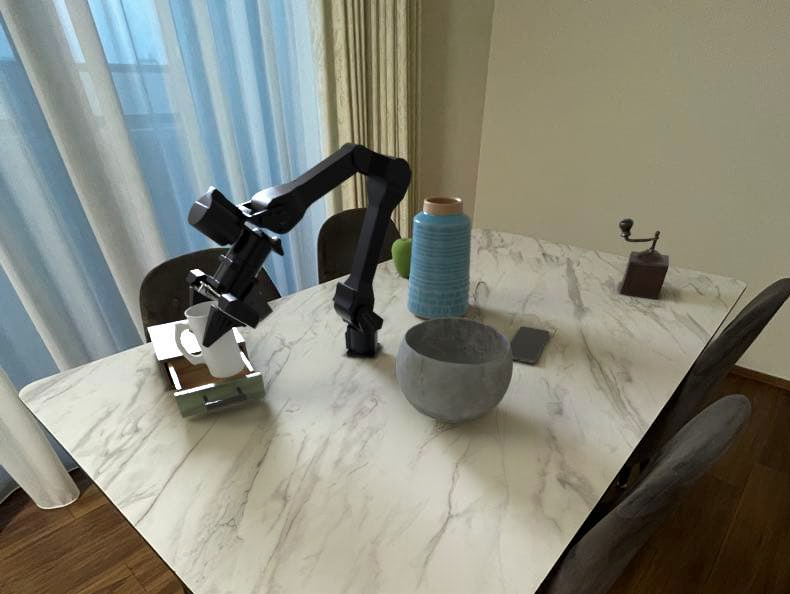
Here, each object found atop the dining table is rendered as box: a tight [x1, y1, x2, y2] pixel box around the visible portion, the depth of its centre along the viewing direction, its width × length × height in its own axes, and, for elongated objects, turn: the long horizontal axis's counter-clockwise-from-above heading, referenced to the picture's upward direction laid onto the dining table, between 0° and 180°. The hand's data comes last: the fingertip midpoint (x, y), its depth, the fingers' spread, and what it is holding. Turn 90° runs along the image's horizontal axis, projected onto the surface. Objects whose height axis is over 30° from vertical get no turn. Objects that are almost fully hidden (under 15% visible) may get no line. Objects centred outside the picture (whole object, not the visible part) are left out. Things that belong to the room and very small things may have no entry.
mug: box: [174, 300, 244, 378], centre depth 84 cm, size 10×7×12 cm, turn 116°
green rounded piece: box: [391, 236, 412, 278], centre depth 142 cm, size 9×8×12 cm
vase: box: [406, 195, 473, 321], centre depth 117 cm, size 16×16×27 cm
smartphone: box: [510, 325, 550, 364], centre depth 109 cm, size 7×1×16 cm
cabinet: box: [146, 319, 251, 390], centre depth 101 cm, size 17×17×7 cm
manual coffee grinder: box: [618, 218, 670, 300], centre depth 133 cm, size 16×11×18 cm
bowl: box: [395, 317, 514, 424], centre depth 85 cm, size 20×20×15 cm
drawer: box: [167, 347, 267, 419], centre depth 90 cm, size 20×15×5 cm
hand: (198, 339), depth 82 cm, fingers closed on mug, 6 cm apart
